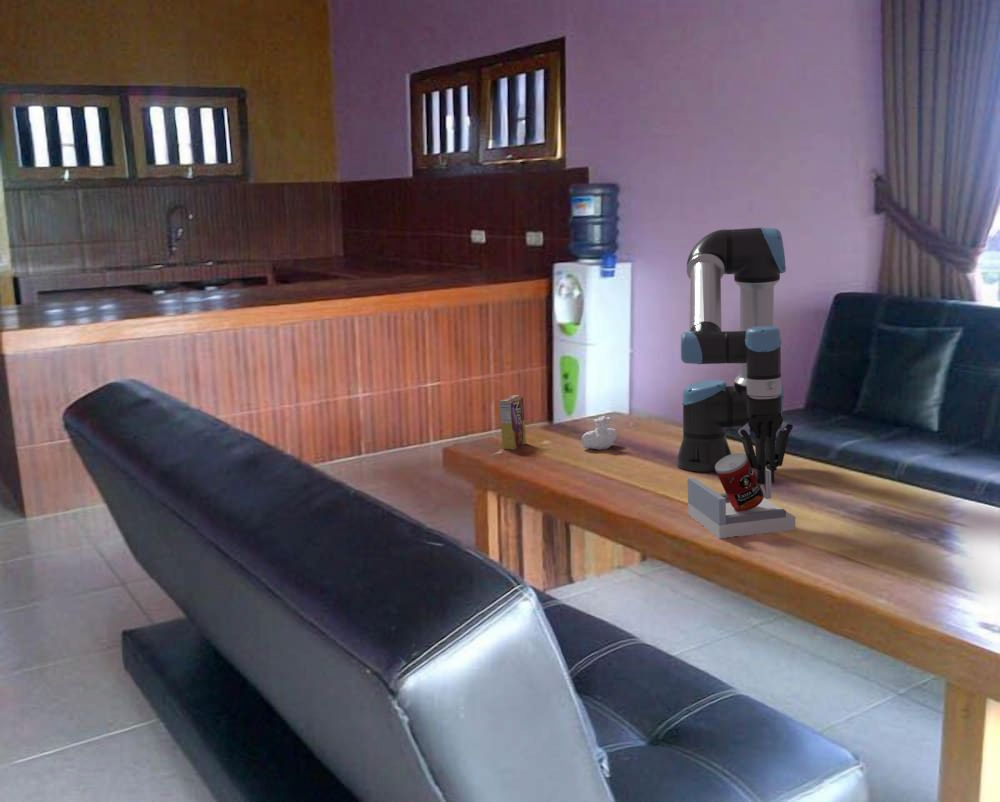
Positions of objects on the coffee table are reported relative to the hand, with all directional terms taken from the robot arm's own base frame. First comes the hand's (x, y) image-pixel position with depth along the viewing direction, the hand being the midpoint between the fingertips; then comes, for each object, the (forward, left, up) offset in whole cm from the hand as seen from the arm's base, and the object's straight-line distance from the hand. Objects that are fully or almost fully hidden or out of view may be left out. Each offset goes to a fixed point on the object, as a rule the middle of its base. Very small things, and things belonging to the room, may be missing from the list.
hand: (766, 497), depth 232 cm
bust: (-79, -15, -6) cm, 80 cm away
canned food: (-1, -4, -1) cm, 4 cm away
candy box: (-92, -39, -6) cm, 100 cm away
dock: (-1, -6, -6) cm, 8 cm away
